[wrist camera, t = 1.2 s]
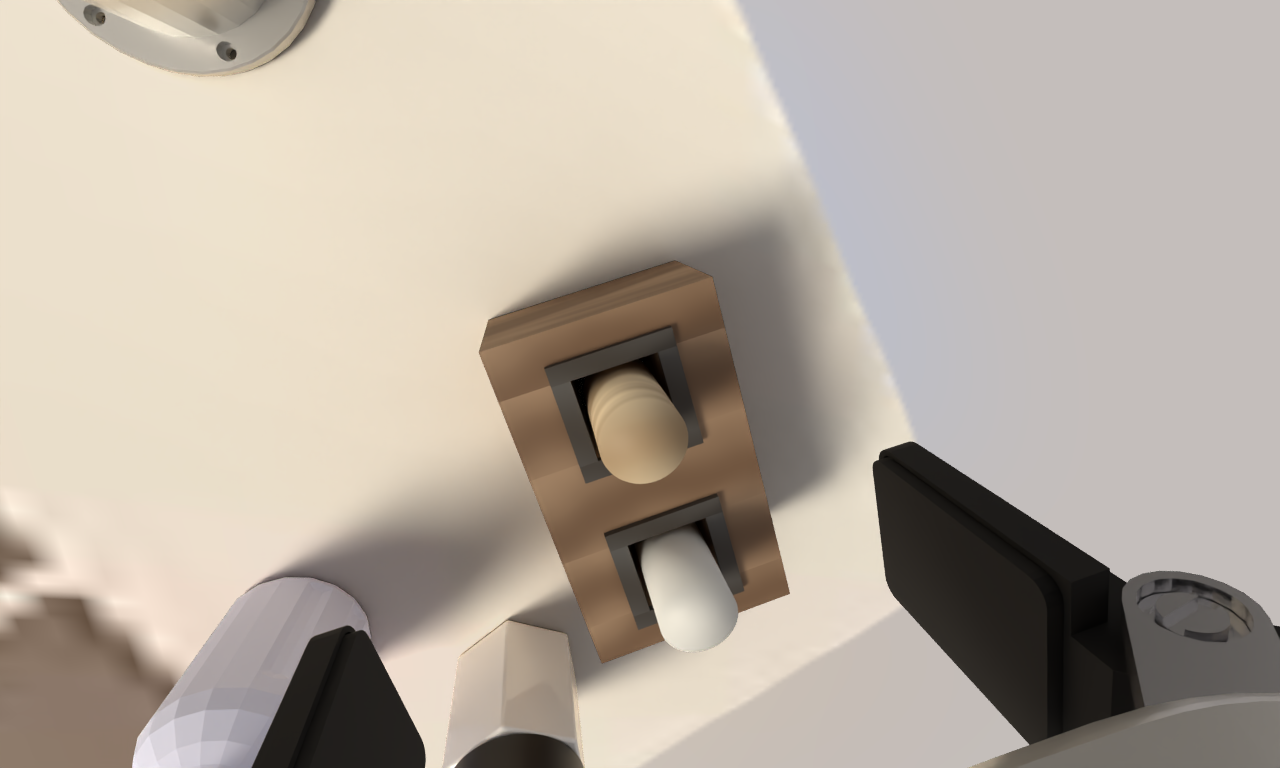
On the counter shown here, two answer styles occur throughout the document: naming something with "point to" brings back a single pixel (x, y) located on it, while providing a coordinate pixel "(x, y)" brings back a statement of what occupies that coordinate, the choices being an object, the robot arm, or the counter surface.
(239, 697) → the soap bottle
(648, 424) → the oak peg
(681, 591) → the white peg
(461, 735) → the jar
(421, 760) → the robot arm
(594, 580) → the walnut block
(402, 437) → the counter surface
